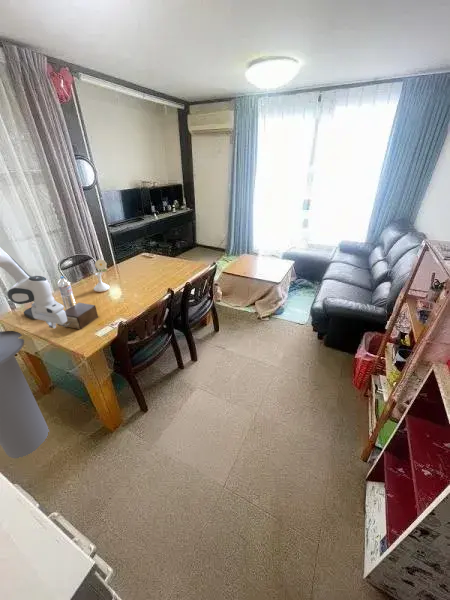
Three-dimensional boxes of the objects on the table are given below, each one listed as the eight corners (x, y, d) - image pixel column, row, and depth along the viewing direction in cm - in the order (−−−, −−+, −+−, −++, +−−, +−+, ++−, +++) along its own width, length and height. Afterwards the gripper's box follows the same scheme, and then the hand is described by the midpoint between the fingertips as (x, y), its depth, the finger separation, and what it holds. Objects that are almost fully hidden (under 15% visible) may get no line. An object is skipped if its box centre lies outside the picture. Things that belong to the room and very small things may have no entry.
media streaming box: (34, 321, 159) (33, 316, 158) (22, 314, 165) (20, 310, 164) (58, 310, 171) (56, 307, 169) (45, 305, 177) (44, 301, 175)
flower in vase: (92, 293, 194) (84, 262, 182) (96, 287, 204) (88, 257, 192) (110, 292, 197) (104, 261, 185) (113, 286, 206) (107, 256, 195)
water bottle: (74, 307, 175) (64, 273, 163) (80, 310, 171) (70, 276, 160) (64, 311, 170) (53, 277, 158) (69, 315, 166) (58, 279, 155)
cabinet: (81, 329, 152) (77, 316, 148) (64, 325, 155) (60, 313, 151) (98, 317, 165) (95, 305, 161) (82, 313, 168) (78, 302, 164)
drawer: (71, 333, 147) (68, 323, 144) (56, 329, 150) (52, 320, 147) (94, 317, 163) (92, 308, 159) (79, 314, 165) (77, 305, 162)
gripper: (25, 304, 135) (33, 326, 141) (55, 311, 130) (62, 334, 136) (36, 299, 140) (43, 321, 146) (66, 306, 135) (72, 328, 141)
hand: (52, 327), depth 141 cm, fingers closed
